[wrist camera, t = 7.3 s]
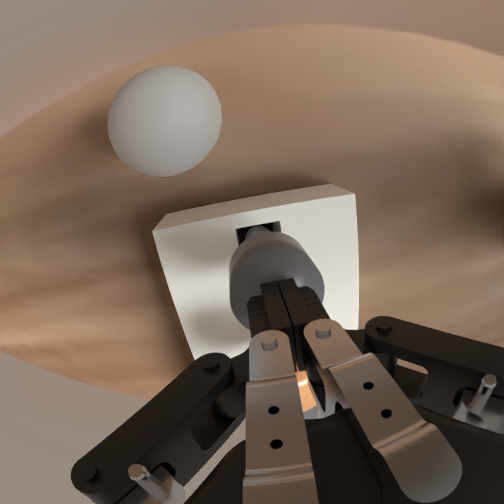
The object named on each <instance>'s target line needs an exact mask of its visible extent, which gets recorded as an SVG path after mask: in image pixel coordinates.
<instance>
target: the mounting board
mask: <svg viewBox="0 0 504 504" xmlns="http://www.w3.org/2000/svg"><path fill="white" fill-rule="evenodd" d="M270 222H272V225H273V231H274V232H280V233H284V234H286V235H289V236H291V237H292V238H294V239H295V240H296V241H298V242H299V243H300V244H301V246H302V247H303V248H304V250H305V251H306V253H307V254H308V256H309V257H310V258H311V260H312V261H313V263H314V264H315V265H316V267H317V268H318V270H319V271H320V273H321V275H322V278H323V281H324V287H325V293H324V299H323V302H322V305H323V306H324V308H325V310H326V312H327V313H328V315H329V317H330V319H331V320H335V321H337V322H338V323H340V325H341V326H342V327H343V328H344V329H348V330H358V313H359V258H358V231H357V214H356V200H355V193H352V192H350V191H348V190H345V189H343V188H340V187H338V186H336V185H333V184H325V185H318V186H312V187H305V188H299V189H293V190H287V191H281V192H275V193H269V194H263V195H258V196H252V197H247V198H241V199H236V200H231V201H226V202H220V203H215V204H211V205H206V206H201V207H196V208H191V209H187V210H182V211H178V212H173V213H169V214H166V215H165V216H164V217H163V219H162V220H161V221H160V222H159V223H158V225H157V226H156V227H155V228H154V229H153V231H152V233H153V236H154V240H155V244H156V247H157V251H158V254H159V257H160V261H161V264H162V267H163V271H164V274H165V277H166V280H167V283H168V286H169V290H170V293H171V296H172V299H173V302H174V305H175V307H176V310H177V313H178V316H179V319H180V322H181V325H182V327H183V330H184V333H185V336H186V338H187V341H188V344H189V346H190V349H191V352H192V354H193V357H194V359H195V360H196V359H197V358H199V357H200V356H202V355H204V354H207V353H213V352H218V353H223V354H226V355H227V356H228V357H229V358H233V357H235V356H237V355H240V354H241V353H243V352H244V351H246V350H247V349H248V347H249V343H250V340H251V332H250V330H249V329H247V328H245V327H244V326H243V325H242V324H241V323H240V322H239V321H238V320H237V319H236V317H235V316H234V314H233V312H232V309H231V305H230V290H229V265H230V261H231V258H232V255H233V253H234V252H235V250H236V249H237V247H238V246H239V245H240V243H239V238H238V232H237V229H238V228H243V227H248V226H254V225H259V224H264V223H270Z"/></svg>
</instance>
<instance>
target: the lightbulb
mask: <svg viewBox="0 0 504 504" xmlns="http://www.w3.org/2000/svg"><path fill="white" fill-rule="evenodd" d="M221 126H222V111H221V105H220V101H219V98H218V96H217V94H216V92H215V90H214V89H213V87H212V86H211V85H210V83H209V82H208V81H207V80H206V79H204V78H203V77H202V76H201V75H199V74H197V73H195V72H194V71H192V70H189V69H186V68H183V67H179V66H159V67H155V68H151V69H148V70H145V71H143V72H141V73H139V74H137V75H135V76H134V77H133V78H131V79H130V80H129V81H128V82H126V83H125V85H124V86H123V87H122V88H121V89H120V90H119V92H118V93H117V95H116V96H115V98H114V100H113V102H112V105H111V107H110V110H109V115H108V134H109V139H110V142H111V144H112V147H113V149H114V151H115V152H116V154H117V155H118V157H119V158H120V159H121V160H122V161H123V162H124V163H125V164H126V165H127V166H128V167H130V168H132V169H133V170H135V171H137V172H140V173H142V174H145V175H148V176H155V177H169V176H173V175H177V174H181V173H183V172H185V171H187V170H190V169H191V168H193V167H194V166H196V165H197V164H199V163H200V162H201V161H202V160H203V159H204V158H205V157H206V156H207V155H208V154H209V153H210V151H211V150H212V149H213V147H214V146H215V144H216V141H217V139H218V137H219V134H220V130H221Z"/></svg>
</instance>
